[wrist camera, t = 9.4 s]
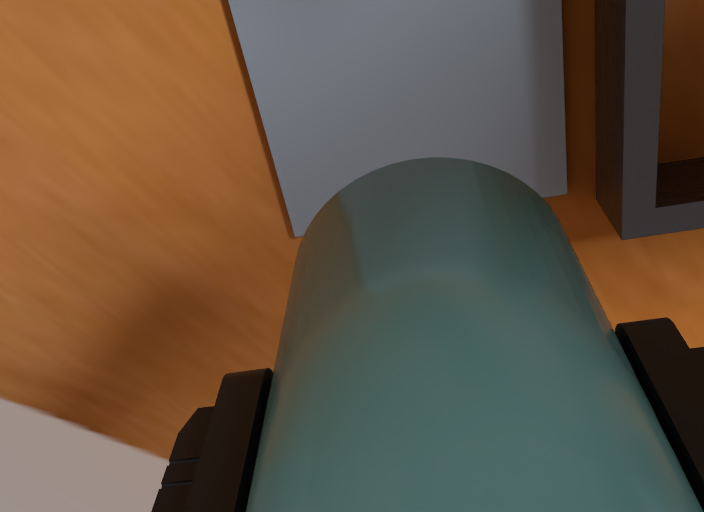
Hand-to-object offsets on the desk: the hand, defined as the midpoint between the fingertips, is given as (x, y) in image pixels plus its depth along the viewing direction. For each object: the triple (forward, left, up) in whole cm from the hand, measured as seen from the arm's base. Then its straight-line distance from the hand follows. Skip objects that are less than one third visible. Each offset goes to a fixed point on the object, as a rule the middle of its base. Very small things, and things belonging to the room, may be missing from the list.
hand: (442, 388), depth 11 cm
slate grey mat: (0, 0, -18) cm, 18 cm away
